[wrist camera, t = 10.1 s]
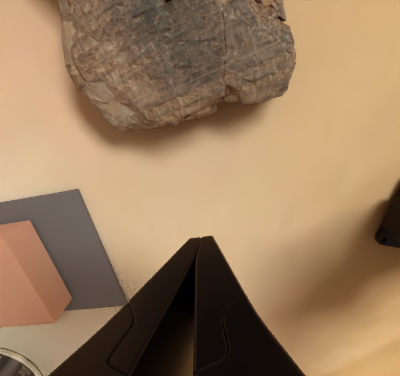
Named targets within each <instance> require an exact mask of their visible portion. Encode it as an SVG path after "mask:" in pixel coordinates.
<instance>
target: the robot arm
mask: <svg viewBox="0 0 400 376" xmlns="http://www.w3.org/2000/svg"><path fill="white" fill-rule="evenodd" d="M383 237H384V238H383ZM382 238H383V239H382ZM381 239H382V240H381ZM375 240H376V241H377V242H378V243H379V244H381V245H386V246H392V247H398V248H400V189H399V191H398V193H397V195H396V197H395V199H394V201H393V203H392V205H391V207H390V209H389V211H388V212H387V214H386V216H385V218H384V220H383V222H382V224H381V226H380V228H379V230H378V232H377V234H376V236H375ZM48 376H305V374H304V373H303V372H302V371H301V370H300V368H299V367H298V366H297V365H296V363H295V362H294V361H293V359H292V358H291V357H290V356H289V354H288V353H287V352H286V351H285V349H284V348H283V347H282V346H281V344H280V343H279V342H278V340H277V339H276V338H275V337H274V335H273V334H272V333H271V332H270V330H269V329H268V328H267V326H266V325H265V323H264V322H263V321H262V319H261V318H260V317H259V315H258V314H257V312H256V311H255V309H254V307H253V306H252V304H251V303H250V301H249V299H248V297H247V296H246V294H245V293H244V291H243V289H242V287H241V285H240V283H239V282H238V280H237V278H236V276H235V275H234V273H233V271H232V269H231V267H230V266H229V264H228V262H227V260H226V259H225V257H224V255H223V253H222V252H221V250H220V248H219V246H218V244H217V243H216V241H215V239H214V237H213V236H205V237H202V238H200V237H198V238H190V239H189V240H188V241H187V242H186V243H185V244H184V245H183V246H182V247H181V248H180V249H179V250H178V251H177V252H176V253H175V254H174V255H173V256H172V257H171V258H170V259H169V260H168V261H167V262H166V263H165V264H164V265H163V267H162V268H161V269H160V270H159V271H158V272H157V273H156V274H155V275H154V276H153V277H152V278H151V279H150V280H149V281H148V282H147V283H146V284H145V285H144V286H143V287H142V288H141V289H140V290H139V291H138V292H137V293H136V294H135V295H134V296H133V297H132V298H131V299H130V300H129V303H126V304H125V305H124V306H123V307H122V308H121V310H120V311H119V312H118V313H117V314H116V315H115V316H113V317H112V318H111V319H110V320H109V321H108V322H107V323H106V324H105V325H104V326H103V327H102V328H101V329H100V330H99V331H98V332H97V333H96V334H94V335H93V336H92V337H91V338H90V339H89V340H88V341H87V342H86V343H85V344H83V345H82V346H81V347H80V348H79V349H78V350H77V351H75V352H74V353H73V354H72V355H71V356H70V357H69V358H68V359H66V360H65V361H64V362H63V363H62V364H61V365H60V366H59V367H57V368H56V369H55V370H54V371H53V372H52V373H51V374H50V375H48Z"/></svg>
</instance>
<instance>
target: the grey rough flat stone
mask: <svg viewBox="0 0 400 376" xmlns="http://www.w3.org/2000/svg"><path fill="white" fill-rule="evenodd" d="M58 4H59V11H60V15H61V19H62V24H63V30H62V44H63V51H64V58H65V64H66V68H67V70H68V72H69V74H70V77H71V78H72V80H73V82H74V83H75V85H76V87H77V89H78V90H79V91H80V92H81V93H82V94H83V95H84V96H85V97H86V98H87V99H88V100H89V101H90V102H91V103H92V104H93V105H95V106H97V108H98V109H99V111H100V112H101V113H102V115H103V116H104V117H105V118H106V120H107V121H108V122H109V123H110V124H111V125H112V126H113V127H115V128H117V129H119V130H121V131H124V132H129V131H132V130H144V129H150V128H159V127H163V126H164V127H165V126H176V125H177V124H178V123H180V122H182V121H186V120H196V119H199V118H202V117H204V116H207V115H210V114H212V113H214V112H216V111H217V106H218V104H219V103H220V102H223V101H225V102H229V103H234V102H240V103H242V104H250V103H258V102H262V101H265V100H268V99H271V98H275V97H279V96H282V95H283V94H284V93H285V92H286V91H287V89H288V85H289V81H290V78H291V75H292V72H293V70H294V67H295V64H296V63H295V59H296V52H295V48H294V40H293V36H292V33H291V30H290V26H288V25H286V24H284V23H282V22H284V21H286V16H285V10H284V4H283V0H58Z"/></svg>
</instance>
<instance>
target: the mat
mask: <svg viewBox="0 0 400 376" xmlns="http://www.w3.org/2000/svg"><path fill="white" fill-rule="evenodd" d="M27 220H30V221H31V223H32V225H33V227H34V229H35V230H36V232H37V234H38V236H39V238H40V240H41V242H42V243H43V245H44V247H45V249H46V251H47V253H48V254H49V256H50V258H51V260H52V262H53V264H54V265H55V267H56V269H57V271H58V273H59V275H60V277H61V278H62V280H63V282H64V284H65V286H66V288H67V289H68V291H69V293H70V295H71V297H72V299H71V301H70V302H69V304H68V305H67V307H66V308H65V309H64V311H66V310H78V309H90V308H101V307H113V306H124V305H125V304H126V303H128V302H127V300H126V298H125V295H124V293H123V291H122V288H121V286H120V284H119V281H118V279H117V277H116V274H115V272H114V270H113V267H112V265H111V263H110V261H109V258H108V256H107V254H106V251H105V249H104V247H103V244H102V242H101V240H100V237H99V235H98V233H97V231H96V228H95V226H94V224H93V221H92V219H91V217H90V214H89V212H88V210H87V207H86V205H85V203H84V200H83V198H82V196H81V194H80V191H79V189H75V190H70V191H64V192H58V193H52V194H47V195H41V196H35V197H30V198H24V199H18V200H12V201H7V202H1V203H0V225H2V224H8V223H15V222H21V221H27Z"/></svg>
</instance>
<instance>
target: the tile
mask: <svg viewBox="0 0 400 376" xmlns="http://www.w3.org/2000/svg"><path fill="white" fill-rule="evenodd" d="M71 299H72V297H71V295H70V293H69V291H68V289H67V288H66V286H65V284H64V282H63V280H62V278H61V277H60V275H59V273H58V271H57V269H56V267H55V265H54V264H53V262H52V260H51V258H50V256H49V254H48V253H47V251H46V249H45V247H44V245H43V243H42V242H41V240H40V238H39V236H38V234H37V232H36V230H35V229H34V227H33V225H32V223H31V221H30V220H27V221H21V222H15V223H8V224H2V225H0V327H7V326H20V325H34V324H47V323H55V322H56V321H57V319H58V318H59V316H60V315H61V314H62V312H63V311H64V309H65V308H66V307H67V305H68V304H69V302H70V301H71Z"/></svg>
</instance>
